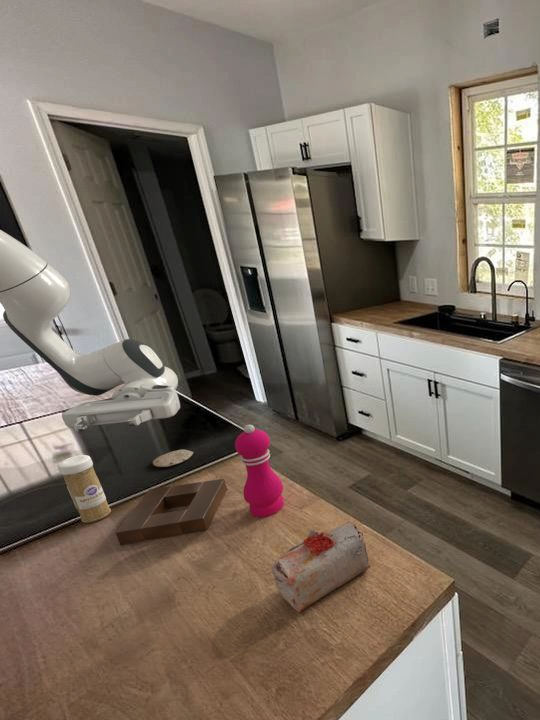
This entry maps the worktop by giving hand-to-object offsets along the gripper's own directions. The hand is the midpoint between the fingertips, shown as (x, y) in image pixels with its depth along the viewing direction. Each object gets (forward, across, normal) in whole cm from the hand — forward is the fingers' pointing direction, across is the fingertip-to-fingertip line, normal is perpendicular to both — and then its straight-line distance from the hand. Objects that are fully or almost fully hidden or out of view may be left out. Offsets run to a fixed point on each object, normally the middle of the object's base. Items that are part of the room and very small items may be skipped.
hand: (106, 425), depth 90 cm
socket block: (+16, +15, +15) cm, 27 cm away
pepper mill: (+19, +32, +15) cm, 41 cm away
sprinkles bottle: (+12, 0, +15) cm, 19 cm away
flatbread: (-8, +6, +15) cm, 18 cm away
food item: (+44, +46, +15) cm, 65 cm away
